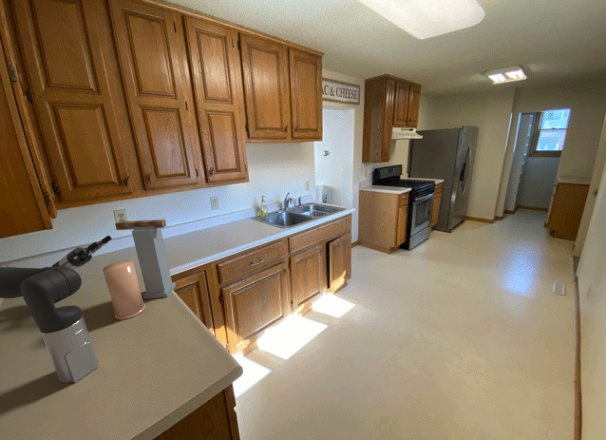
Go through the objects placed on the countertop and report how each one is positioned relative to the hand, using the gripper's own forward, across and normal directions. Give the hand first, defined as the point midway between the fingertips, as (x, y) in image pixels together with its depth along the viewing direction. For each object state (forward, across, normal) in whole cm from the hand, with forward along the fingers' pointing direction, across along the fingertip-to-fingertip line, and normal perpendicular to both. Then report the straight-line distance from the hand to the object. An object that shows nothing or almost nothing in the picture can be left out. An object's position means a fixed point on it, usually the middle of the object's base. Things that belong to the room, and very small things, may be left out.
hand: (103, 240), depth 111 cm
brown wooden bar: (+17, 0, -4) cm, 17 cm away
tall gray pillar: (+3, 0, -33) cm, 33 cm away
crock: (-2, +14, -30) cm, 33 cm away
